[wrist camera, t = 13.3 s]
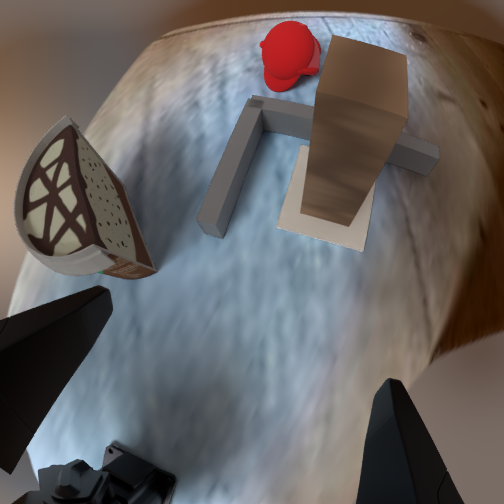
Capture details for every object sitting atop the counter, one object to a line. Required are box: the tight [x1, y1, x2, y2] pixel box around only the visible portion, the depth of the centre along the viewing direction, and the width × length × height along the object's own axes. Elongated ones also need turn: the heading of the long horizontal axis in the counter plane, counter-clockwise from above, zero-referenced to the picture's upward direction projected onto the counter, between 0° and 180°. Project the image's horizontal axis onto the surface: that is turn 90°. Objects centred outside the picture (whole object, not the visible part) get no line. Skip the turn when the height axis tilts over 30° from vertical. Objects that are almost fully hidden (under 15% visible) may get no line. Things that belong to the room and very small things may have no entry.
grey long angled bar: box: [196, 95, 439, 252], centre depth 23 cm, size 12×17×3 cm
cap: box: [260, 21, 321, 92], centre depth 26 cm, size 8×6×6 cm
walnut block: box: [300, 35, 408, 227], centre depth 18 cm, size 4×5×13 cm
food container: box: [14, 115, 157, 280], centre depth 20 cm, size 12×6×10 cm, turn 28°
